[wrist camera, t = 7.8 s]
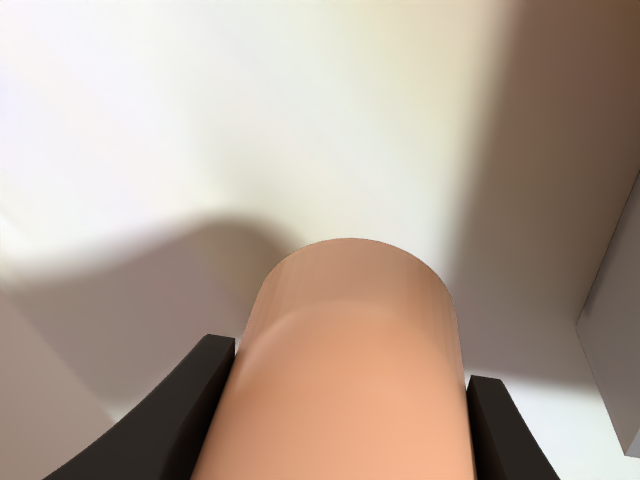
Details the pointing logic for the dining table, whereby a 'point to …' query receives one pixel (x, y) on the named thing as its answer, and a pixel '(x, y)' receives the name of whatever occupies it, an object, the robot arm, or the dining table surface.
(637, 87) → the dining table surface
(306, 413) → the terracotta cylinder
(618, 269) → the tote
